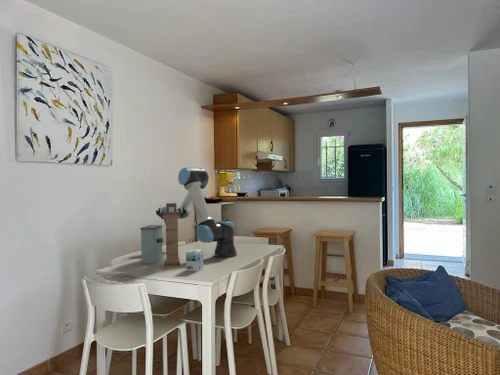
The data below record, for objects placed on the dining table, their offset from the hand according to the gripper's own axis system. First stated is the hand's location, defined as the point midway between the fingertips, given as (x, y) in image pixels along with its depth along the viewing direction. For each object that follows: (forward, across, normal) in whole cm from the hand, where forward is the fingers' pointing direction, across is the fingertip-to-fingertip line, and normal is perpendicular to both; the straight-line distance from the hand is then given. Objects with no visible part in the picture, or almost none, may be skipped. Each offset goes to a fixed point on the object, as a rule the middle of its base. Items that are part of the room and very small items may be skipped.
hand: (171, 206), depth 245 cm
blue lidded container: (-13, +11, -32) cm, 36 cm away
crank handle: (+6, 0, -6) cm, 9 cm away
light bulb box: (+15, -13, -49) cm, 53 cm away
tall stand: (-4, 0, -37) cm, 38 cm away
